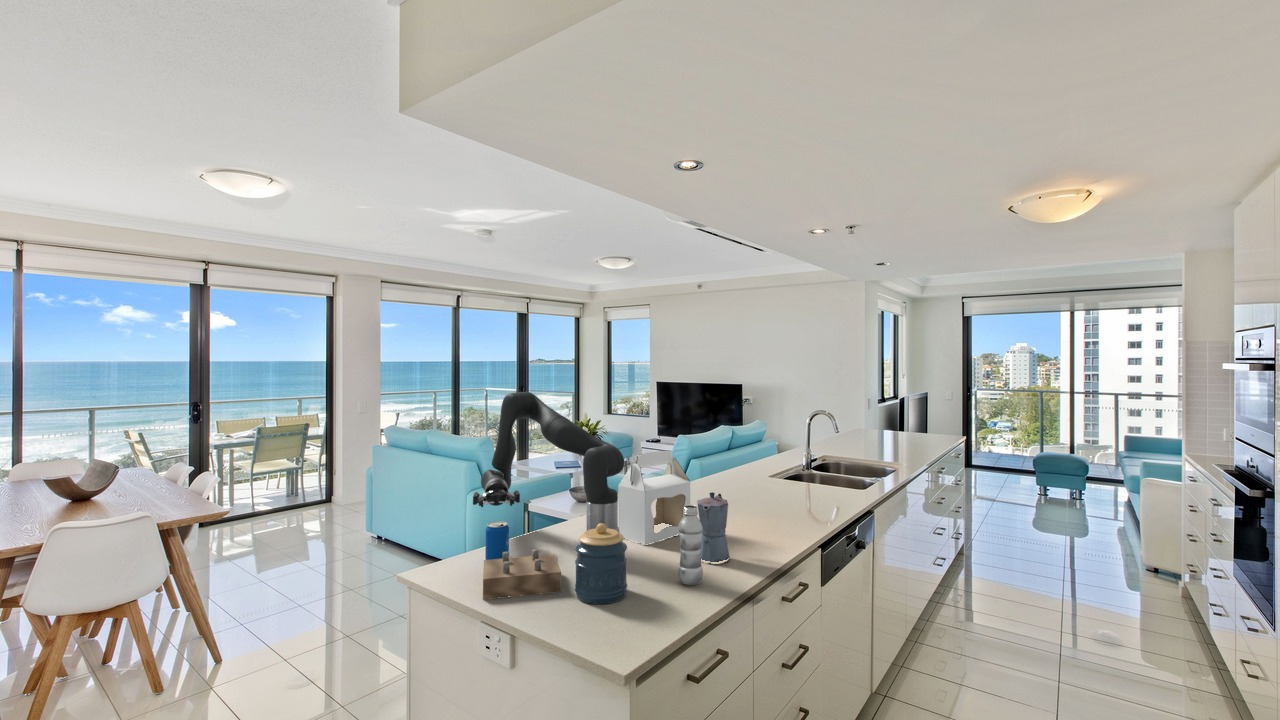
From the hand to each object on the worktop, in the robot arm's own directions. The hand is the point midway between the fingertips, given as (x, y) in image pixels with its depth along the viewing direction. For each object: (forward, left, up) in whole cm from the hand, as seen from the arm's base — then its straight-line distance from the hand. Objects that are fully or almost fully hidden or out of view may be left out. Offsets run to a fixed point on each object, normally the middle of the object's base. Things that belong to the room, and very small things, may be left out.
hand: (496, 503), depth 170 cm
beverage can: (0, +10, -16) cm, 19 cm away
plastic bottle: (-49, +36, -16) cm, 63 cm away
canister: (-25, +37, -16) cm, 48 cm away
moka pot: (-62, +20, -16) cm, 67 cm away
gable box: (-52, -8, -16) cm, 55 cm away
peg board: (-6, +26, -16) cm, 31 cm away
